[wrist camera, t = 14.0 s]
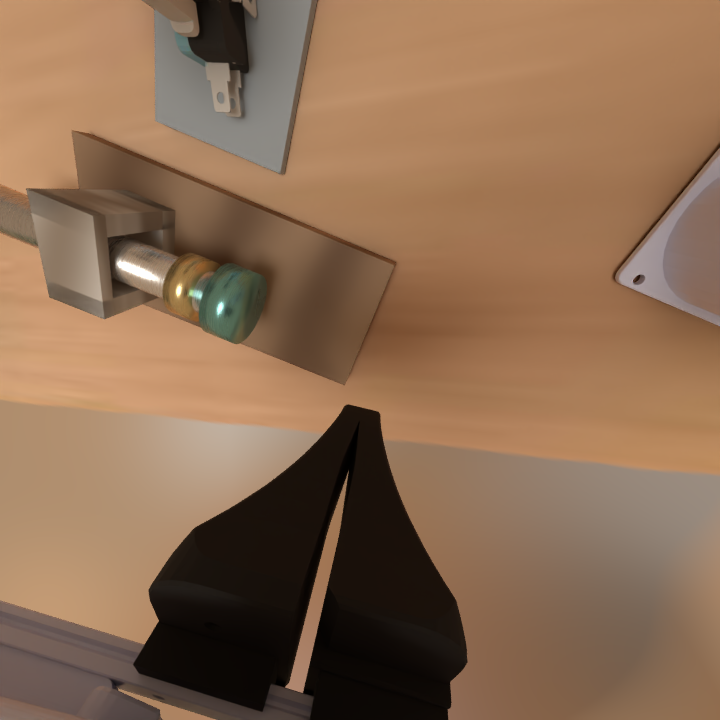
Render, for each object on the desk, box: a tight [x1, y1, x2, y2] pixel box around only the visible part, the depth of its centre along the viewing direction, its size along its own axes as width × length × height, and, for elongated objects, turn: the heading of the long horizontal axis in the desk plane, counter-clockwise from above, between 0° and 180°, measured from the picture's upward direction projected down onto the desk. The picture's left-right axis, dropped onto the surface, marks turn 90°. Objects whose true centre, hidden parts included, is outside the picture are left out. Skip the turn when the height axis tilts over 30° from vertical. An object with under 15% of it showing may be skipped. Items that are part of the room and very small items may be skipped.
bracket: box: [26, 131, 396, 385], centre depth 17 cm, size 19×9×6 cm, turn 70°
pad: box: [154, 0, 317, 174], centre depth 14 cm, size 7×9×1 cm
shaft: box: [0, 184, 267, 344], centre depth 16 cm, size 15×4×4 cm, turn 70°
